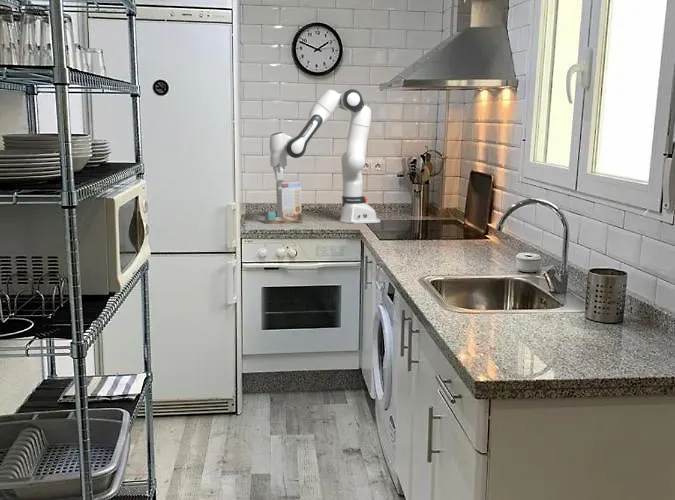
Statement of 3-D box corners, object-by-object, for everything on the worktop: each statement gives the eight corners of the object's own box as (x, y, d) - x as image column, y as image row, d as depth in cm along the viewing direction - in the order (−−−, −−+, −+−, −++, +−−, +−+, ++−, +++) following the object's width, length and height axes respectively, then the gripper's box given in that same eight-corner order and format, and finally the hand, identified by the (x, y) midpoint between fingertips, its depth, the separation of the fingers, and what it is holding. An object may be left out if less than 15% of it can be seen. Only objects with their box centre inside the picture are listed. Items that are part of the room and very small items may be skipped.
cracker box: (295, 215, 412) (295, 180, 408) (302, 216, 407) (301, 180, 404) (276, 217, 403) (275, 181, 399) (282, 218, 399) (281, 182, 395)
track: (300, 220, 392) (300, 210, 391) (301, 223, 383) (301, 212, 382) (264, 221, 390) (264, 211, 389) (265, 223, 380) (265, 213, 379)
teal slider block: (275, 219, 388) (275, 211, 387) (275, 220, 383) (275, 212, 382) (268, 219, 387) (267, 211, 386) (268, 220, 383) (268, 212, 382)
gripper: (285, 163, 367) (286, 190, 370) (283, 161, 387) (284, 186, 390) (273, 164, 367) (274, 190, 369) (272, 162, 387) (273, 187, 389)
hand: (279, 188), depth 380 cm, fingers open, 8 cm apart
